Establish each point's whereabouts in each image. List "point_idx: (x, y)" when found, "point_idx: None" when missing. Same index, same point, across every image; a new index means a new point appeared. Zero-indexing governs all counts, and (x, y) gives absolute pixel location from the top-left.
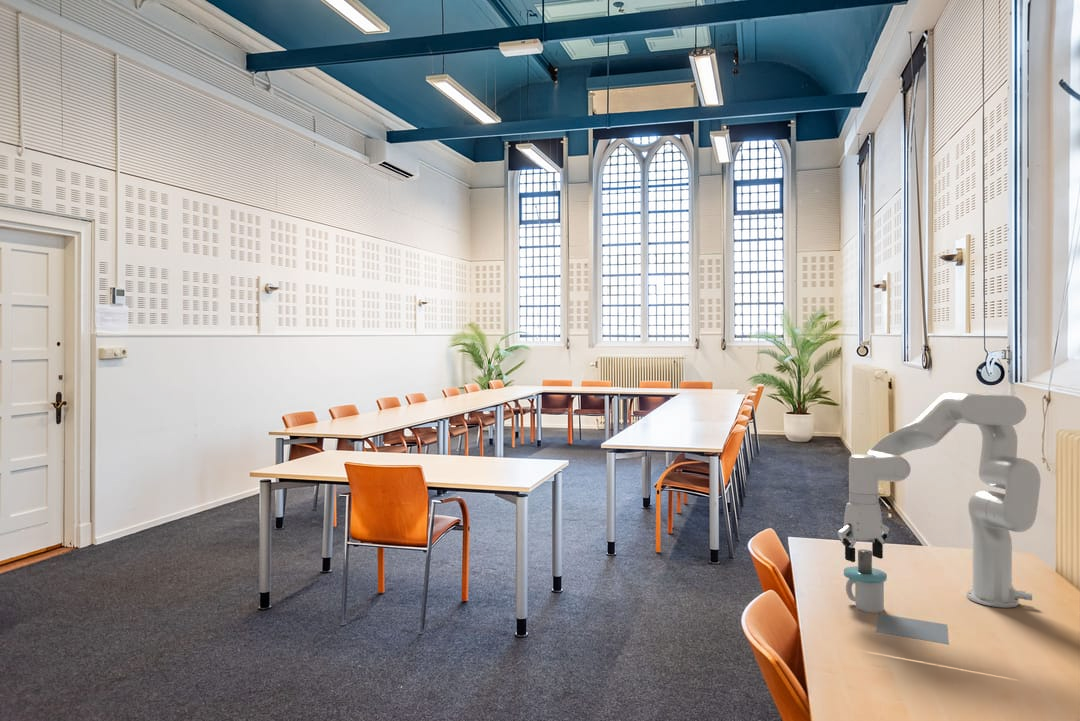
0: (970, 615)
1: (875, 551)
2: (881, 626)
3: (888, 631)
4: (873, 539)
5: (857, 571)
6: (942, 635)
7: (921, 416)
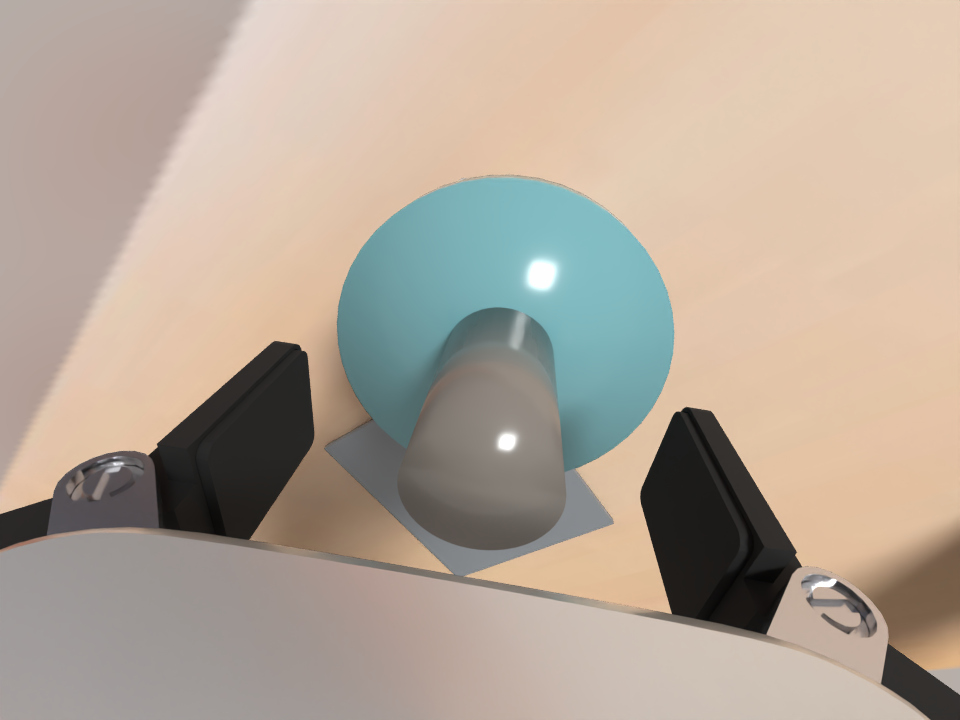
0: (810, 515)
1: (679, 490)
2: (378, 434)
3: (366, 466)
4: (765, 622)
5: (460, 315)
6: (503, 550)
7: None
